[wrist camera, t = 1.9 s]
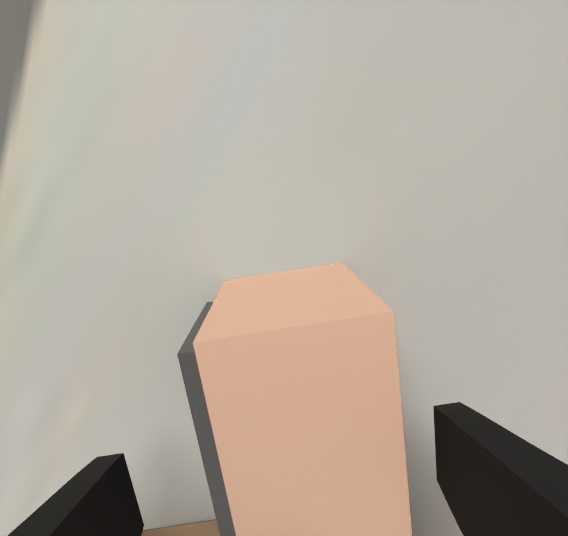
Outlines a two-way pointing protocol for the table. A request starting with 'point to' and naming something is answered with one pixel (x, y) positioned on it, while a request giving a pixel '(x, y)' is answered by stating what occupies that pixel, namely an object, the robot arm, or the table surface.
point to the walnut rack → (186, 530)
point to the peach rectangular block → (299, 406)
